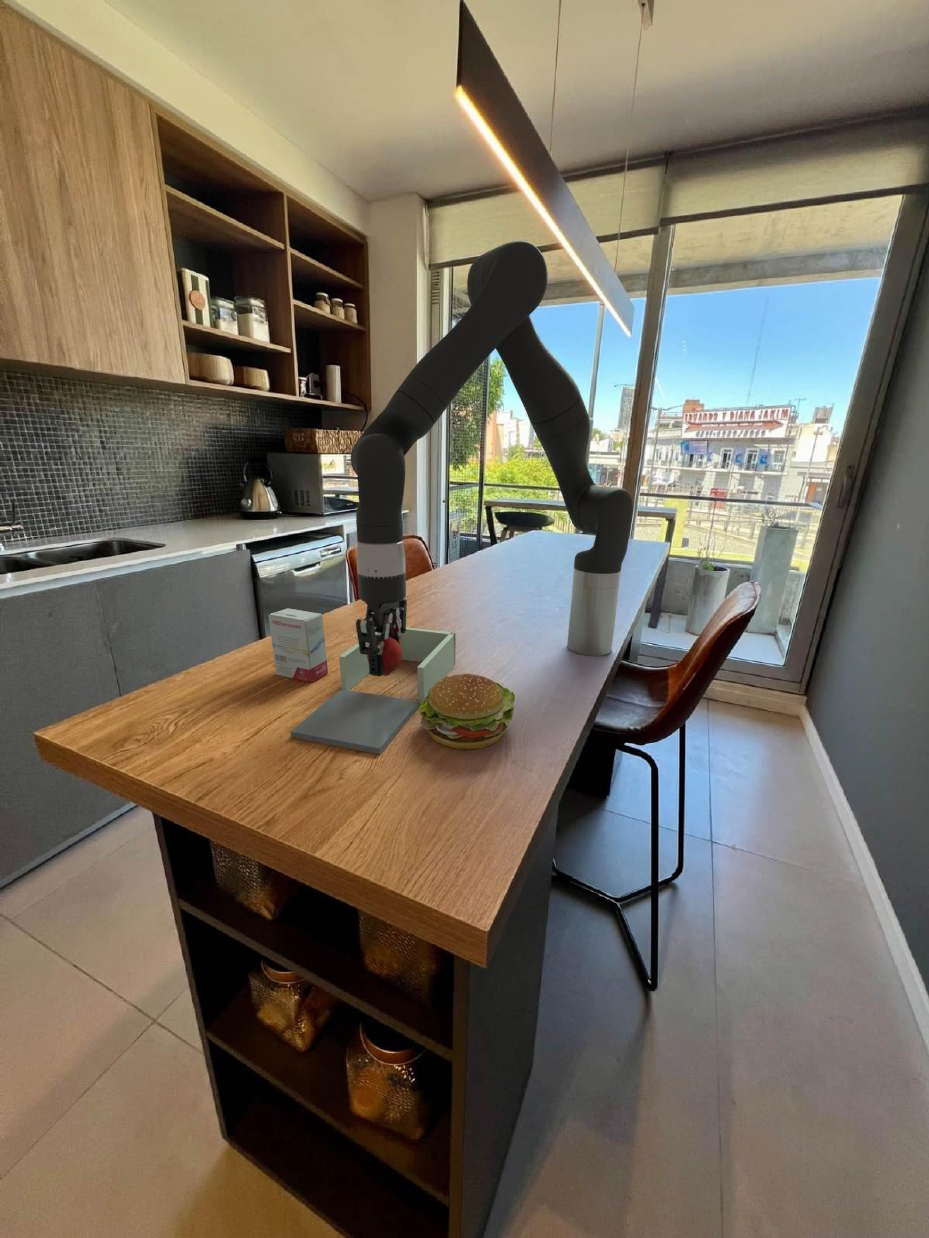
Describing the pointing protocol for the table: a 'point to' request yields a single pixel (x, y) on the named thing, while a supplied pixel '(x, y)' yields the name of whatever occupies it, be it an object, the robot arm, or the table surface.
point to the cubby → (415, 646)
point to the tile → (356, 721)
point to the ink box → (298, 644)
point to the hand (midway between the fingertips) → (385, 667)
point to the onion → (390, 655)
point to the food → (467, 711)
